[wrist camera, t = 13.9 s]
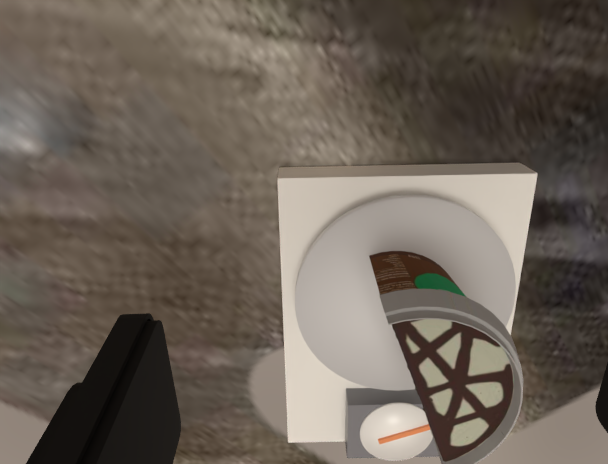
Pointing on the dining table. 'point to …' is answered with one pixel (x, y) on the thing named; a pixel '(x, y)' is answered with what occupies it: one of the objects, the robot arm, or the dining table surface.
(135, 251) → the dining table surface
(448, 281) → the food container
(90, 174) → the dining table surface
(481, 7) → the dining table surface
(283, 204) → the dial scale
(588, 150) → the dining table surface
